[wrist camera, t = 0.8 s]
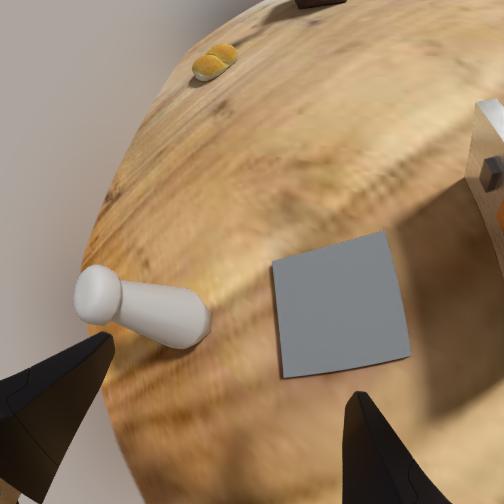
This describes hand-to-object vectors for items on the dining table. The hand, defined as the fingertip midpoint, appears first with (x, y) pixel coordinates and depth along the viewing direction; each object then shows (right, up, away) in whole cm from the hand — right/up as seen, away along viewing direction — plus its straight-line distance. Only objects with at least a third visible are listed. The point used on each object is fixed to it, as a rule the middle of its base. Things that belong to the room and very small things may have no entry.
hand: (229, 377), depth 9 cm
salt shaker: (-5, -3, +19) cm, 20 cm away
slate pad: (+8, 0, +13) cm, 15 cm away
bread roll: (-5, +38, +36) cm, 53 cm away
